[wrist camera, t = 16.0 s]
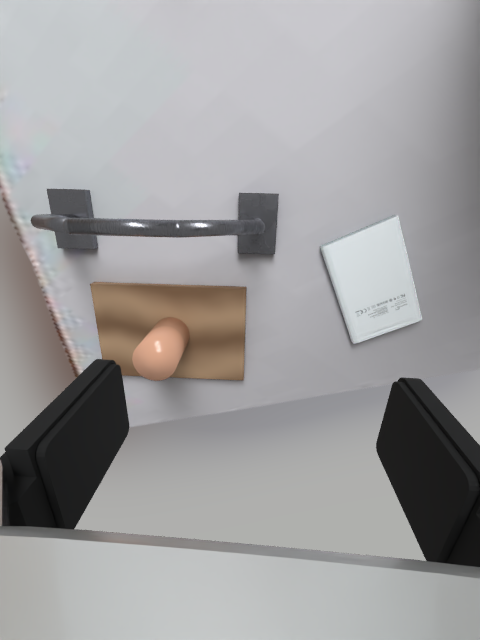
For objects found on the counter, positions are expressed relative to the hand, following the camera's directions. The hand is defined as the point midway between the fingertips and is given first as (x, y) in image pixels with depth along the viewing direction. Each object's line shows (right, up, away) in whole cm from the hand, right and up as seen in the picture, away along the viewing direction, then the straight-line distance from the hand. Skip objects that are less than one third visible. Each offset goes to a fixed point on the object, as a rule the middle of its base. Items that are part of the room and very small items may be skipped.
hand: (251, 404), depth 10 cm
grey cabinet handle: (-9, +14, +22) cm, 27 cm away
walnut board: (-9, +1, +27) cm, 28 cm away
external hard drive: (+15, +7, +24) cm, 29 cm away
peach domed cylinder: (-9, +1, +26) cm, 27 cm away
